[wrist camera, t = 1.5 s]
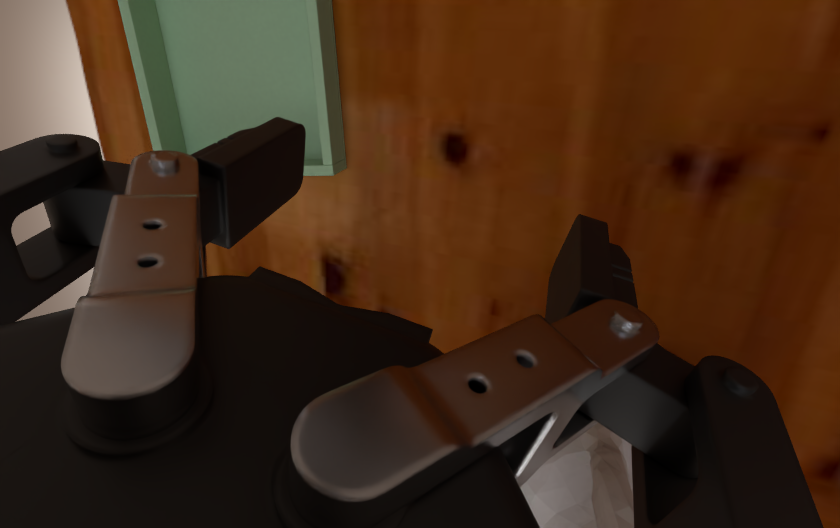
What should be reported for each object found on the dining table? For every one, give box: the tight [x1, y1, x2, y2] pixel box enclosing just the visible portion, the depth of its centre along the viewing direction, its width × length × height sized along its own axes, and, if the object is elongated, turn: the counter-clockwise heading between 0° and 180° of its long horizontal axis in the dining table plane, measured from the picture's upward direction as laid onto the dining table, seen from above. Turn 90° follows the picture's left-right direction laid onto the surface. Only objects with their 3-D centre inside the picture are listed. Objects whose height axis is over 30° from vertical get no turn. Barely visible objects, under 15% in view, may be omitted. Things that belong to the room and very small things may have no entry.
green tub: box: [118, 0, 347, 176], centre depth 34 cm, size 17×15×3 cm
